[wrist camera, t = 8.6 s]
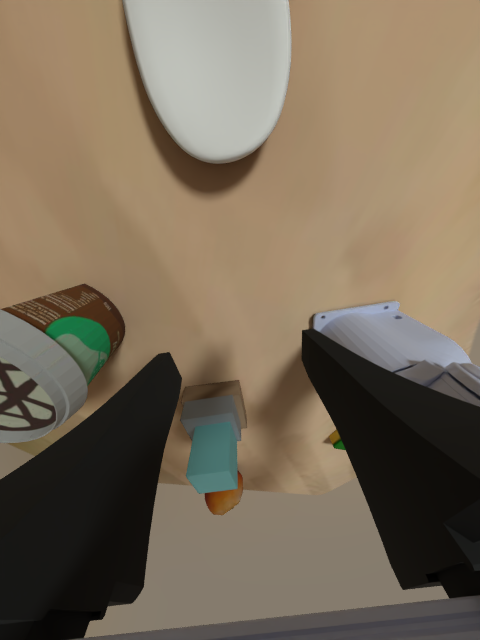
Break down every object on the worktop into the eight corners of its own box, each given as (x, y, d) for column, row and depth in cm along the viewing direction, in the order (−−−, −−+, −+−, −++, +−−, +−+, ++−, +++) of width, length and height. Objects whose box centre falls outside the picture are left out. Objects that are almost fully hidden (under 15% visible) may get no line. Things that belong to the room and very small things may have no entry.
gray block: (232, 394, 23) (232, 412, 21) (240, 422, 26) (241, 440, 24) (184, 401, 24) (180, 420, 21) (198, 428, 27) (195, 446, 25)
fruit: (200, 467, 35) (218, 518, 30) (233, 447, 40) (253, 488, 35) (195, 483, 39) (210, 531, 34) (225, 464, 44) (242, 503, 38)
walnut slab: (238, 377, 26) (239, 394, 23) (245, 409, 30) (247, 428, 27) (186, 384, 26) (181, 402, 24) (199, 415, 30) (196, 434, 27)
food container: (122, 372, 24) (58, 459, 15) (71, 355, 22) (-34, 442, 13) (149, 299, 19) (78, 367, 10) (86, 270, 17) (-65, 321, 8)
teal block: (229, 421, 22) (229, 470, 18) (236, 440, 24) (237, 488, 20) (195, 426, 22) (185, 476, 18) (205, 445, 24) (198, 493, 20)
